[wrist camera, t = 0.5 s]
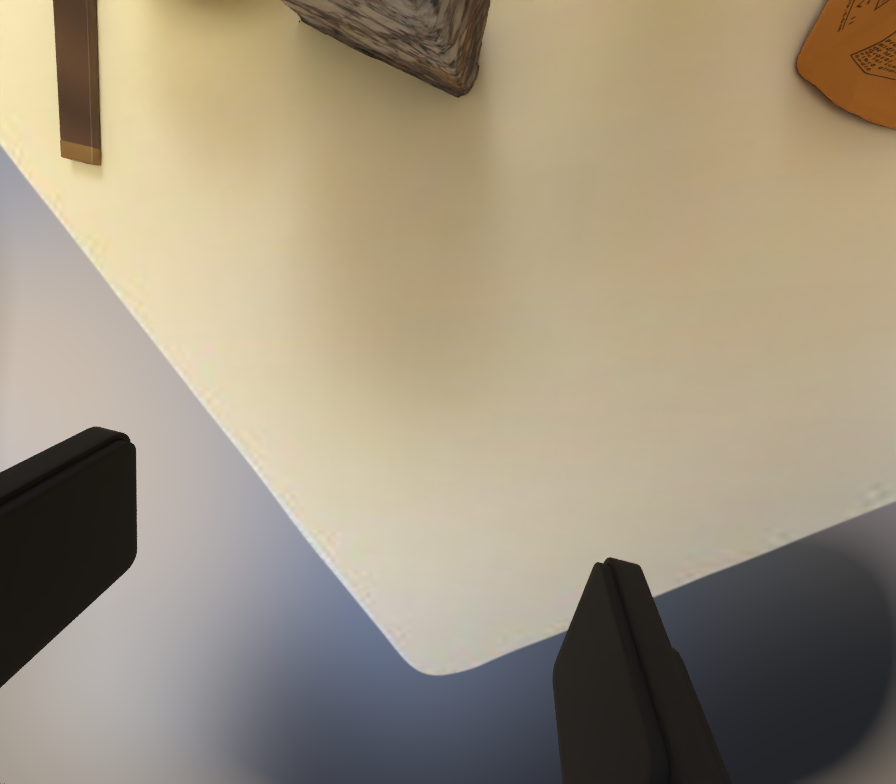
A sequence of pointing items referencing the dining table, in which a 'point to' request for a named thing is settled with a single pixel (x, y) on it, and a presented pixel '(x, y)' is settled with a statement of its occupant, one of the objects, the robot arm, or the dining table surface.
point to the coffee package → (855, 57)
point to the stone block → (408, 34)
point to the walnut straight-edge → (77, 79)
